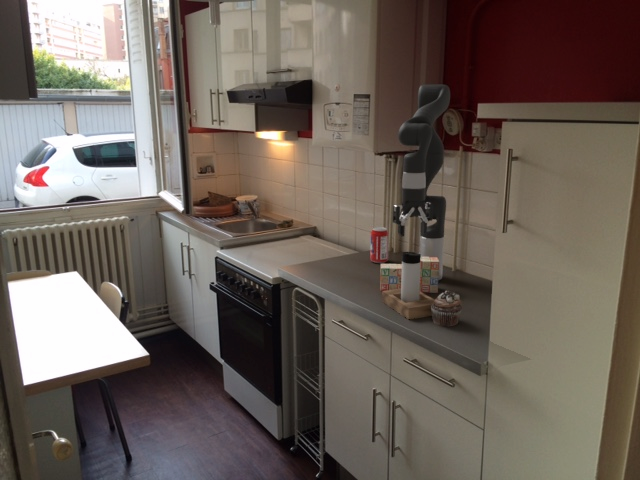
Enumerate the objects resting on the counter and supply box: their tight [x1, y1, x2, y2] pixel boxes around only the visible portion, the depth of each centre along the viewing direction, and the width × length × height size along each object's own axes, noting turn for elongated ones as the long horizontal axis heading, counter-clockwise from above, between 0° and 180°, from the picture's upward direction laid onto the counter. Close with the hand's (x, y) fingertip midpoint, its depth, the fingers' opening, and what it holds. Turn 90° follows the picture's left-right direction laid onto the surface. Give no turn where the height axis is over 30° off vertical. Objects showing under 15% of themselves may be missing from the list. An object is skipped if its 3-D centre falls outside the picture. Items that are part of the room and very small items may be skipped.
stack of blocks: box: [379, 257, 439, 294], centre depth 207 cm, size 21×6×12 cm, turn 85°
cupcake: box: [431, 289, 463, 327], centre depth 176 cm, size 10×10×10 cm
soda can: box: [369, 226, 390, 264], centre depth 243 cm, size 8×8×15 cm
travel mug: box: [401, 251, 421, 303], centre depth 187 cm, size 6×7×20 cm
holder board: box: [381, 289, 435, 320], centre depth 189 cm, size 18×12×4 cm, turn 22°
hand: (412, 234), depth 183 cm, fingers open, 7 cm apart
